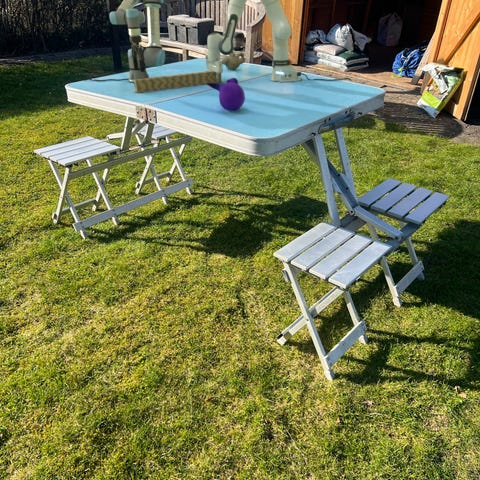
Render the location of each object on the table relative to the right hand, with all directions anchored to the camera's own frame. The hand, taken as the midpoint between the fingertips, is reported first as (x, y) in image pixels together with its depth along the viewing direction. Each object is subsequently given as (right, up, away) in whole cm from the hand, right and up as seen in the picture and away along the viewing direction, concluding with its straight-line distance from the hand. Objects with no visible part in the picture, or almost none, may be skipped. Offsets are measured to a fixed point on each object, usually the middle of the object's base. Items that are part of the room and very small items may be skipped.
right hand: (215, 77), depth 329 cm
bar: (-24, -10, -10) cm, 28 cm away
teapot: (+13, +22, +43) cm, 50 cm away
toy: (+11, -42, -66) cm, 79 cm away
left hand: (-49, -6, -29) cm, 57 cm away
